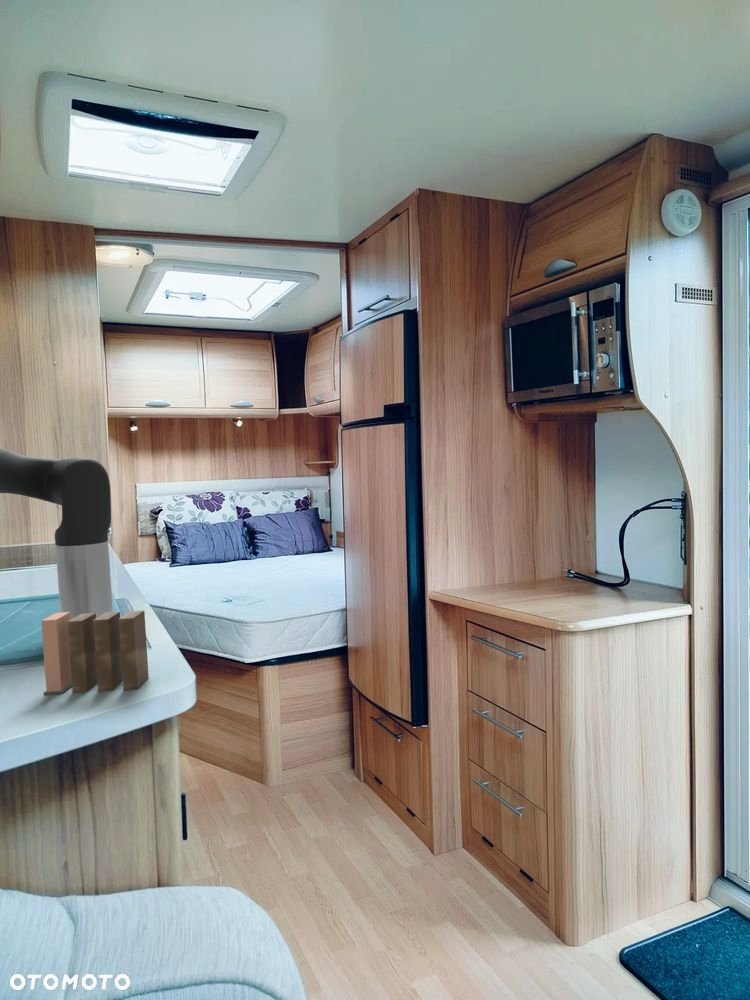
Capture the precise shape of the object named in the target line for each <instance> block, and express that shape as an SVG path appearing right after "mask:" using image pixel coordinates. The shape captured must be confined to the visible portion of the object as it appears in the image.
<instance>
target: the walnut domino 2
mask: <svg viewBox="0 0 750 1000" xmlns="http://www.w3.org/2000/svg"><path fill="white" fill-rule="evenodd" d="M119 618H121V611H113V612H106V613H104V614H103V615H101V616H99V617H98V618H96V619H94V620H93V625H94V640H95V655H96V670H97V684H96V686H97V692H113V691H114V690H115V689H116V688H117V687H118V686H119V685H120V684H121V683H123V675H122V660H121V645H120V629H119Z"/></svg>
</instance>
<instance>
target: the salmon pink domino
mask: <svg viewBox="0 0 750 1000" xmlns="http://www.w3.org/2000/svg"><path fill="white" fill-rule="evenodd" d="M69 620H71V613H70V612H61V613H60V612H55V613H53V614H51V615H50V616H48V617H45V618H44V619H42V620H41V634H42V635H41V636H42V648H43V660H44V664H43V666H44V676H45V688H46V689H45V691H46V692H56V691H62V690H63V689H65V688H66V687H67V686H68V685H69V684H71V683H72V678H71V664H70V649H69V635H68V621H69Z"/></svg>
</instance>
